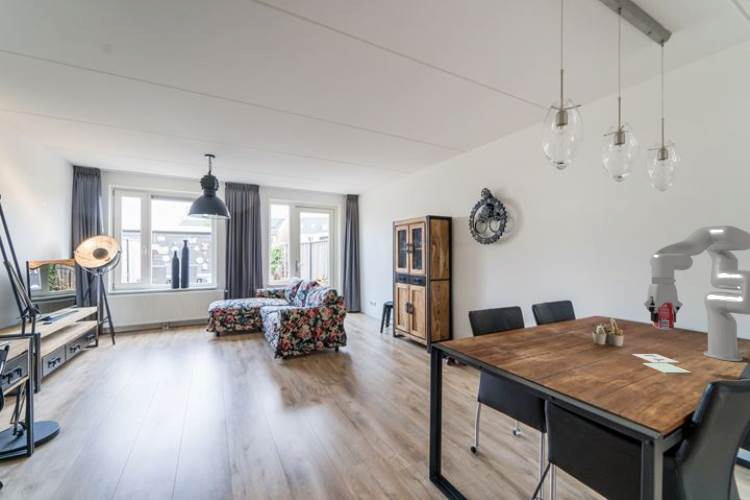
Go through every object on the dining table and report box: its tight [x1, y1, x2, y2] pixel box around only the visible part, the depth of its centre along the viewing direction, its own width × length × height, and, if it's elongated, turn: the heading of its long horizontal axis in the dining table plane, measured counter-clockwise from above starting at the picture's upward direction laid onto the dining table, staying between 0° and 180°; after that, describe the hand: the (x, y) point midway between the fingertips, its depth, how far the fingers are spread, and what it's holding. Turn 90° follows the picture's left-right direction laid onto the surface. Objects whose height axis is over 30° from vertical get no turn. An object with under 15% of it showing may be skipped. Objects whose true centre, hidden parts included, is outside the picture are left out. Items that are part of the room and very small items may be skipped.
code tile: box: [631, 353, 680, 364], centre depth 150 cm, size 12×12×1 cm
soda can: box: [652, 302, 675, 331], centre depth 140 cm, size 7×7×12 cm
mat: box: [642, 362, 692, 374], centre depth 137 cm, size 11×11×1 cm
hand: (663, 321), depth 139 cm, fingers closed on soda can, 7 cm apart
